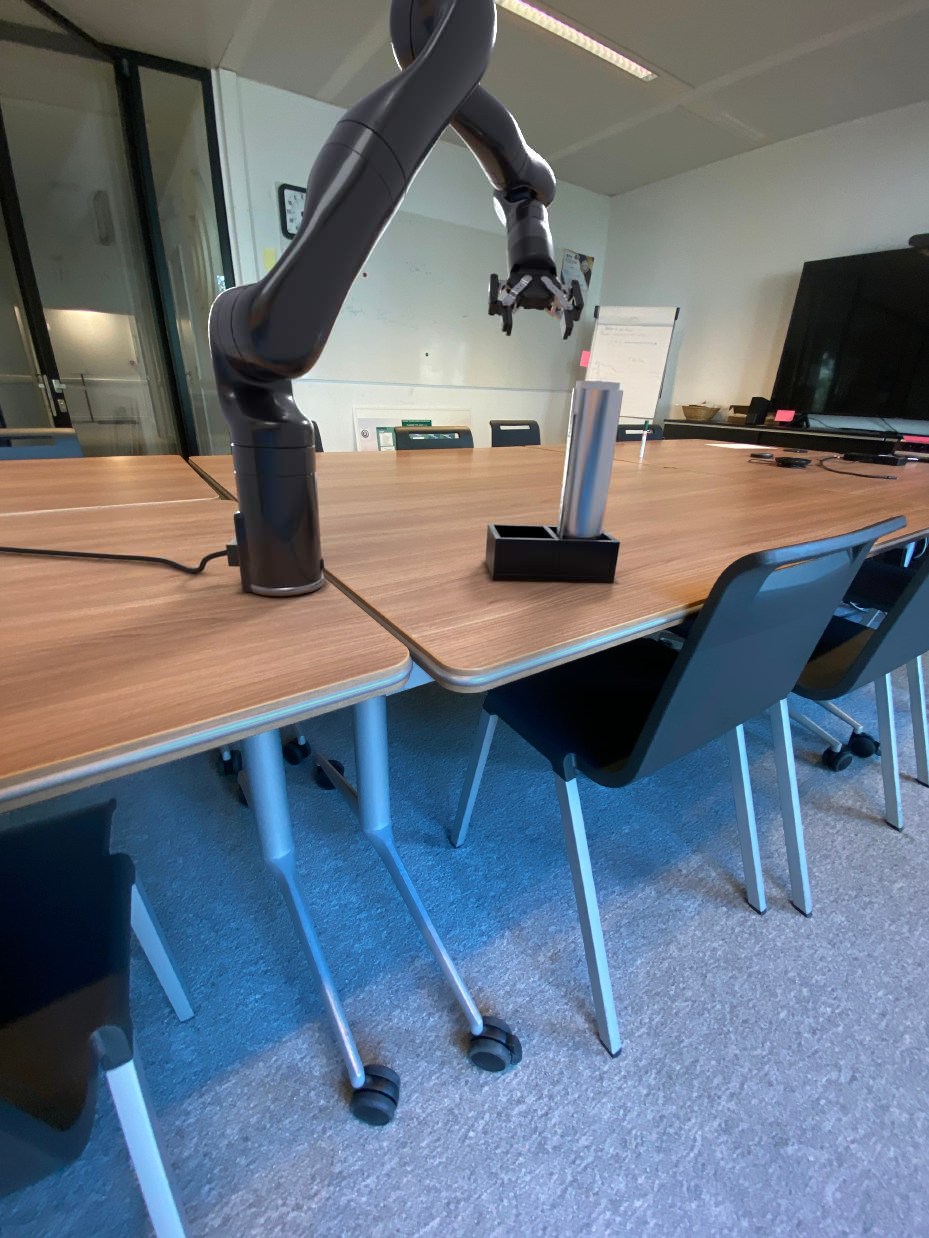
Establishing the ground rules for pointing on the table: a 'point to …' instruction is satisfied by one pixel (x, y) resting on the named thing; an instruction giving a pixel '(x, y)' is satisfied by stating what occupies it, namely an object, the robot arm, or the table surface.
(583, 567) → the open box with compartments
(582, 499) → the metallic silver cylinder
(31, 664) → the table surface
